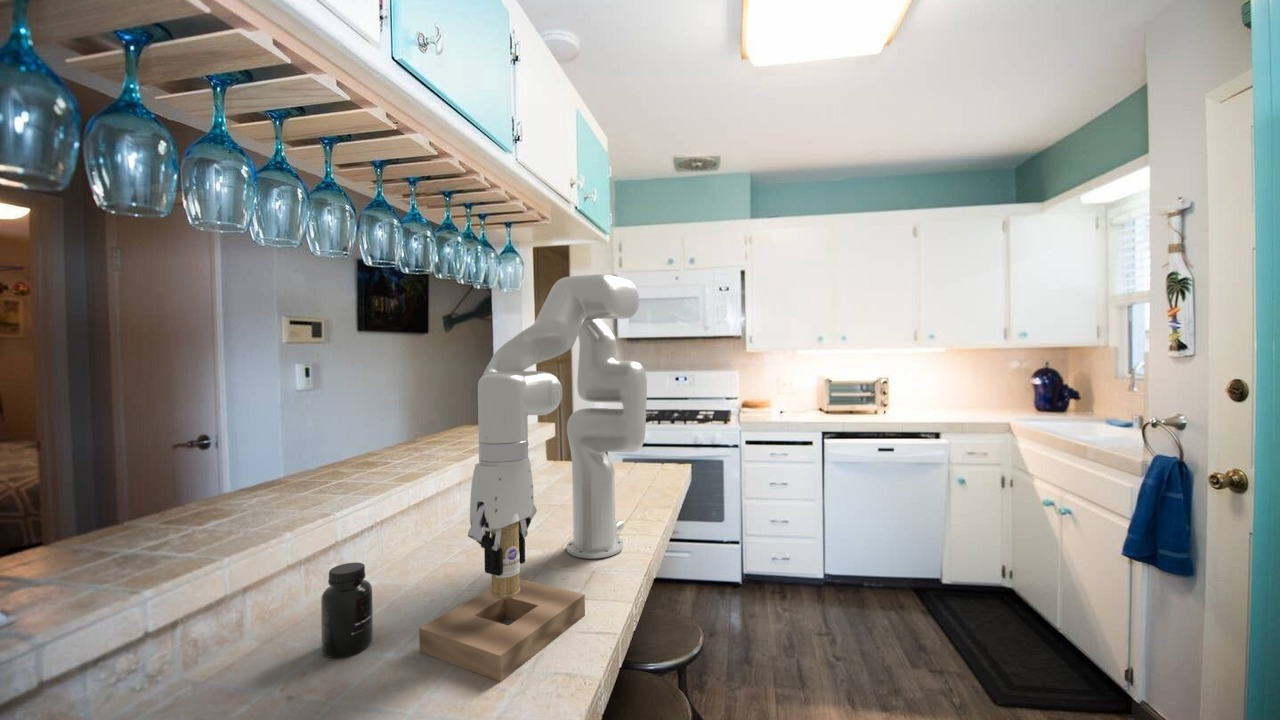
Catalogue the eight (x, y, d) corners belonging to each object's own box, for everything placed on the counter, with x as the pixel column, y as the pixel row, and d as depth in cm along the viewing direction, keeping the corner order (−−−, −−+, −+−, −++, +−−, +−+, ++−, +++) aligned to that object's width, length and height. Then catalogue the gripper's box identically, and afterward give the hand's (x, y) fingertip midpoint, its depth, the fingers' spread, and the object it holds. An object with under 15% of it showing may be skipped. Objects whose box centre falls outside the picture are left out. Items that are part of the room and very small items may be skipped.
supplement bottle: (368, 654, 77) (366, 574, 77) (315, 663, 75) (313, 580, 75) (377, 631, 84) (375, 556, 84) (329, 638, 82) (327, 562, 82)
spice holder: (512, 595, 96) (511, 576, 96) (585, 615, 88) (584, 594, 88) (419, 651, 78) (419, 628, 78) (500, 681, 70) (500, 655, 70)
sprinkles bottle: (506, 603, 80) (504, 514, 80) (484, 596, 82) (483, 510, 82) (526, 591, 84) (525, 507, 84) (505, 585, 86) (504, 503, 86)
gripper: (521, 442, 92) (522, 546, 92) (444, 459, 77) (445, 583, 77) (555, 445, 88) (557, 553, 88) (481, 463, 73) (483, 594, 74)
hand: (505, 566), depth 83 cm, fingers closed on sprinkles bottle, 4 cm apart
